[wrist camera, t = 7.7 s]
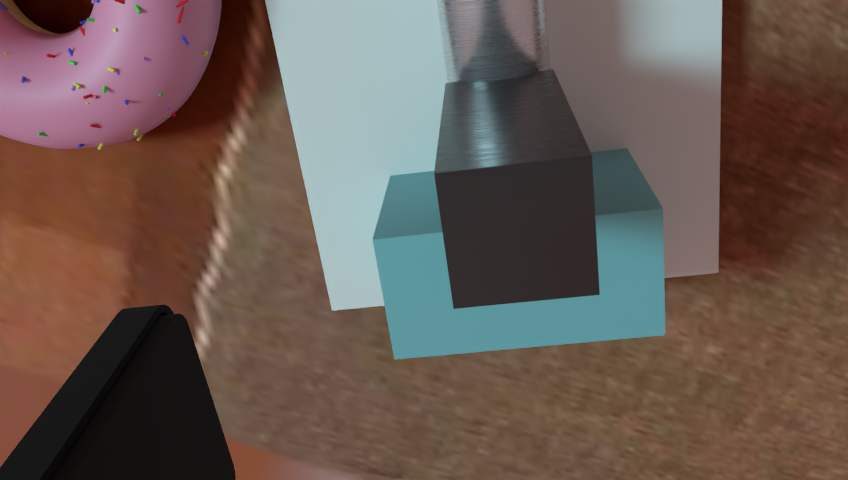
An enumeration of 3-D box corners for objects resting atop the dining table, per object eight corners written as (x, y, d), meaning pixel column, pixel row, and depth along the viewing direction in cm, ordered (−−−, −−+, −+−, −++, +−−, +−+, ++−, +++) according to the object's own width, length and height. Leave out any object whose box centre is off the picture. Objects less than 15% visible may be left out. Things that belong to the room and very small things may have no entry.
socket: (390, 175, 27) (372, 239, 22) (627, 148, 26) (663, 208, 21) (407, 279, 28) (394, 359, 24) (631, 256, 28) (665, 334, 23)
